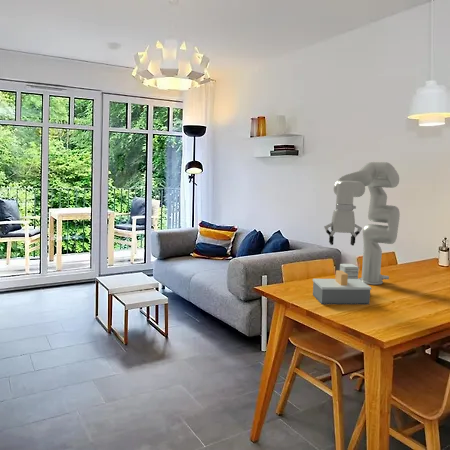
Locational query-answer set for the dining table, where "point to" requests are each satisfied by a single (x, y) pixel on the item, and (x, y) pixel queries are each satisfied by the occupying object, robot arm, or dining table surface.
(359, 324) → the dining table surface
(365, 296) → the tub
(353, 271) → the supplement box
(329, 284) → the lid
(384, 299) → the dining table surface
